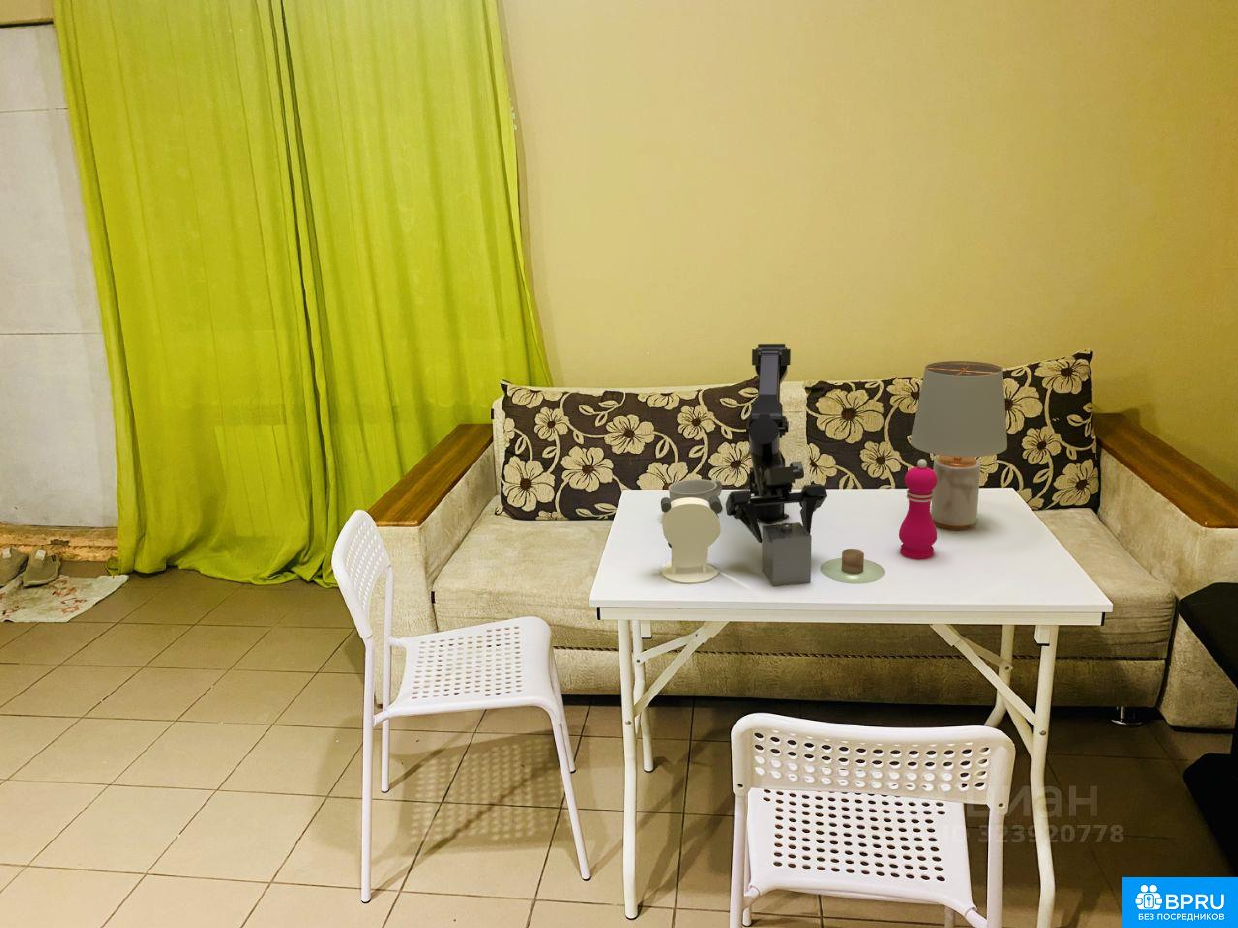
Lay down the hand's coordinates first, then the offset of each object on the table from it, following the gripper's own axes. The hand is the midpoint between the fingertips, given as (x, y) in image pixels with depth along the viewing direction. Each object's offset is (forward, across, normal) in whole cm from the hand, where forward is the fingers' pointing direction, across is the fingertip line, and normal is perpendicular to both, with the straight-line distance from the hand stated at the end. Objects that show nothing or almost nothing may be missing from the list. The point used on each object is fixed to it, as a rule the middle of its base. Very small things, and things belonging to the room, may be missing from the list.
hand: (784, 540), depth 174 cm
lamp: (-8, +43, +18) cm, 47 cm away
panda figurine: (+1, -16, +11) cm, 20 cm away
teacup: (-20, -9, +31) cm, 38 cm away
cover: (+6, 0, +5) cm, 8 cm away
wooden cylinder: (+6, +13, +4) cm, 15 cm away
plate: (+6, +13, +5) cm, 15 cm away
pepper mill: (+2, +28, +8) cm, 30 cm away
